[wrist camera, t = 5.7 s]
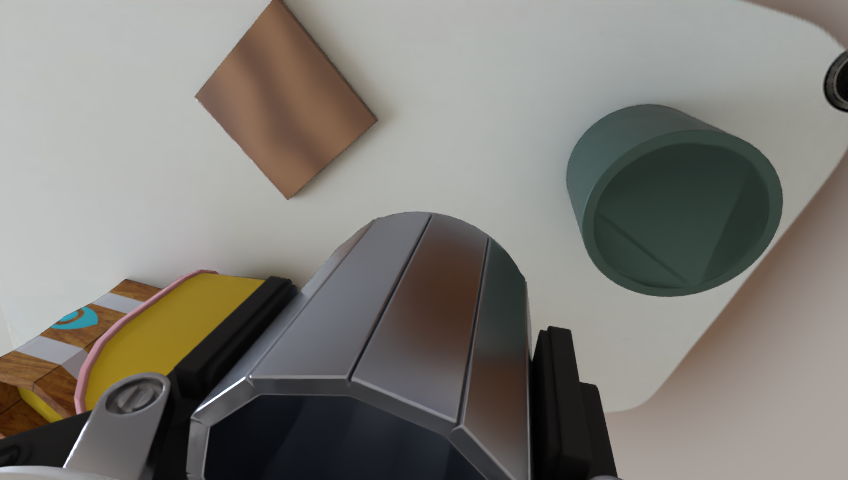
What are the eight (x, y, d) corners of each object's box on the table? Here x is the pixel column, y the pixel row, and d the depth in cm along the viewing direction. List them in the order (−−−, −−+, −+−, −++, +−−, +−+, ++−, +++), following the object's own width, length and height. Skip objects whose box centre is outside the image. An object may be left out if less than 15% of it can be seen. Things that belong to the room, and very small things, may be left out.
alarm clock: (209, 249, 45) (21, 376, 28) (304, 259, 43) (164, 403, 26) (240, 379, 53) (108, 540, 36) (321, 393, 51) (222, 570, 34)
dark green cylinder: (667, 73, 30) (728, 87, 21) (736, 186, 32) (817, 242, 23) (540, 159, 34) (547, 201, 26) (609, 254, 37) (637, 322, 28)
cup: (438, 166, 12) (347, 306, 6) (572, 330, 13) (616, 588, 7) (294, 280, 15) (127, 458, 8) (416, 406, 16) (351, 639, 10)
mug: (170, 273, 48) (36, 362, 35) (218, 366, 53) (117, 475, 40) (48, 288, 54) (-108, 370, 40) (102, 371, 59) (-21, 468, 45)
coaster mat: (279, -4, 33) (275, -5, 33) (378, 120, 36) (376, 121, 35) (198, 96, 38) (193, 96, 38) (290, 198, 41) (287, 200, 40)
